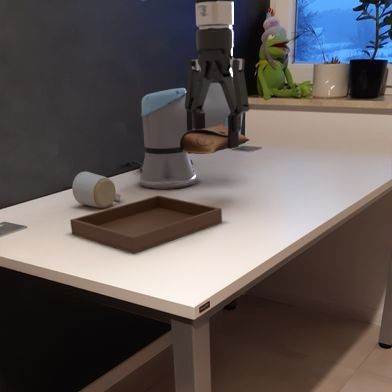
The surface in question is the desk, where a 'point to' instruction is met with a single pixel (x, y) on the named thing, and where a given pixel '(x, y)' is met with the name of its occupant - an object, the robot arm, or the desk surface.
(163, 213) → the valet tray
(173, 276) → the desk surface
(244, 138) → the sunglasses case
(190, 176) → the robot arm
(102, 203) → the ceramic mug
